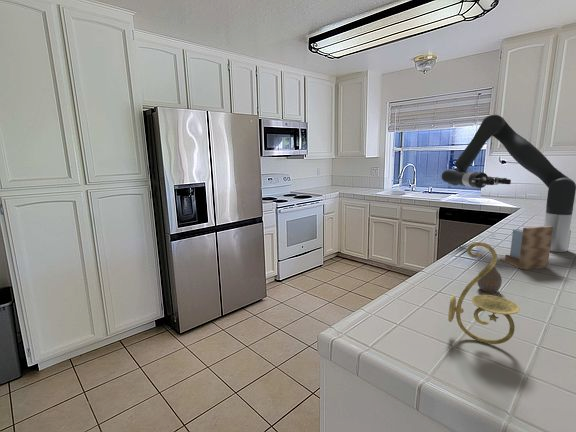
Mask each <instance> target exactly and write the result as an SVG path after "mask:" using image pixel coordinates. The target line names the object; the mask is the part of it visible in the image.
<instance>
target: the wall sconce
mask: <svg viewBox="0 0 576 432" xmlns="http://www.w3.org/2000/svg"><path fill="white" fill-rule="evenodd" d="M474 247H475V248H476V247H484V248H485V249H487V250H489V252H490V253H491V261H490V263H489V264H488V265H489V266H488V267H487V268H486V269H485V270H484V271H482V272H481V273H480V274H479V273H478V274H479V275H476V276H475V277H474V278H473V279H472V280H471V281H470V282H469V283H467V285H466V286H465V288H464V289H463V290H462V292H461V293H460V295H459V298H458V301H457V299H456V298H457V297H456V295H455V294H453V295H451V298H450V302H449V307H448V316H447V317H448V318H447V319H448V322H449V323H450V322H453V320H454V318H455V317H456V322H457V325H458V326H459V328H460V329H461V330H462V331H463V333H464V334H465V335H467V336H468V337H470V338H471V339H473V340H475V341H477V342H479V343H480V342H481V343H483V342H484V344H488V345H490V344H491V345H498V344H499V345H500V344H503V343H506V342H508V341H509V340H510V339H512V337H513V336H514V333H515V329H516V327H515V322H514V319H513V317H512V316H511V315H515V314H517V313H519V311H520V306H519V305H518V304H517V303H516V302H514V301H512V300H510V299H508V298H505V297H502V296H497V295H491V294H480V295H479V294H478V295H474V296H472V298H471V301H472V304H474V306H476V307H477V308H476V309H474V312H473V318H474V320H475V322H477V323H478V324H479V325H482V326H483V325H484V326H488V325H489V324H490V322H488V321H487V320H482V319H480V318H479V313H480V312H484V311H486V312H489V313H492V314H488V315H487V316H488V317H489V321H494V322H495V323H497V319H499V318H500V317H498V316H496V314H498V315H503V316H505V318H506V320H507V321H508V323H509V324H508V325H509V330H508V333H507V334H506V335H505V336H504V337H502V338H499V339H486V338H483V337H479V336H478V335H475V334H473V333H472V332H471V331H469V330H468V329H467V328H466V327H465V326H464V324H463V321H462V319H461V318H462V317H461V314H463V313H464V310H465V309H464V308H463V307H462V304H463V301H464V299H465V298H466V295H467V294H468V292H469V290H471V289H472V287H473V286H475V284H476V283H477V281H479V280H480V279H481V278H482V277H483V276H485V275H486V274H487V273H488V272H489V271H490V270H491V269H492V268H493V267H494V266H495V267H496V264H497V260H498V256H497V252H496V250H495V249H494V247H492V245H490V244H488V243H486V242H481V241H475V242H472V243H471V244H470V245H468V246H467V249H466V253H467V254H468V256H469V257H471V258H477V257H479V256H480V255H481V254H480V252H477V253H473V252H472V249H473V248H474Z"/></svg>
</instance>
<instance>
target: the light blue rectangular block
mask: <svg viewBox="0 0 576 432" xmlns="http://www.w3.org/2000/svg"><path fill="white" fill-rule="evenodd" d="M522 235H523V229H519V228H518V229H512V234H511V236H512V237H511V243H510V253H509V255H510V256H513V257H515V258H518V259H520V251H521V243H522Z"/></svg>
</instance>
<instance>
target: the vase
mask: <svg viewBox="0 0 576 432" xmlns="http://www.w3.org/2000/svg"><path fill="white" fill-rule="evenodd" d="M489 265H490V264H486V265H485V267H484V268H482V269H481V270H480V271H479V273H478V275H479V274H480V273H481V272H482V271H484V270H485V269H486V268H487V267H488V266H489ZM478 275H477V276H478ZM502 279H503V278H502V276H501V273H500V272H499V271H498V270H497V268H496V265H495V266H494V267H493V268H492V269H491V270H490V271H489V272H488V273H487V274H486V275H485V276H483V277H482V278H481V279H480V280H479V281H477V282H476V283H477V286H478V288H479V289H480V290H481V291H482V292H485V293H488V294H489V293H490V294H493V293H496V292H498V291H499V290H500V289H501V287H502V283H503V280H502Z"/></svg>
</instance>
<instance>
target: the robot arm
mask: <svg viewBox="0 0 576 432" xmlns="http://www.w3.org/2000/svg"><path fill="white" fill-rule="evenodd" d="M491 137H493V138H495V139H496V140H498V141H499V143H501V144H502V145H503V147H504V148H505V149H506V151H507V153H508V154H509V156H511V157H512V158H513V159H514V160H515V161H516V163H518V164H519V165H521V167H523V168H524V169H525V170H526V171H528V172H530V173H531V174H532V175H534V176H536V177H537V178H538V179H540V180H541V181H542V182H543V184H545V186H546V187H547V188H548V189H547V198H546V205H545V206H546V207H545V209H546V210H545V217H544V224H543V226H552V227H553V232H552V239H551V246H550V252H556V253H566V252H567V251H569V248H570V243H571V242H570V241H571V234H572V230H571V223H572V218H573V211H574V204H575V198H576V197H575V196H576V182H575V181H574V180H573V179H571V178H570V177H568V176H567V175H565V174H564V173H562V172H561V171H560V170H559V169H558V168H556V167H555V166H554V165H553V164H552V163H551V161H550V160H549V159H548V158H547V157H546V156H545V155H544V154H543V152H541V151H540V150H539V149H538V148H537V147H535V145H533V144H532V143H531V142H530V141H529V140H527V139H526V138H524V137H523V135H520V134H518V133H517V132H516V131H515V130H514V129H513V128H512V127H511V126H510V125H509V123H508V122H507V121H506V119H505V118H504V117H502V116H501V115H499V114H497V113H496V114H495V113H493V114H488V115H487V116H485V117H484V118H483V120H482V122H481V123H480V125H479V127H478V129H477V131H476V132H475V134H474V135H473V137H472V139H471V141H470V142H469V143H468V145H467V146H466V147H465V149H464V150H463V151H462V152H461V154H460V155H459V157H458V158H457V159H456V161H455V162H454V166H455V167H456V168H457V170H456V169H445V170H444V171H443V172H442V174H441V179H442V181H443V182H444V183H447V184H449V185H452V186H458V185H459V186H464V187H465V186H466V187H470V188H475V189H482V188H485V187H486V186H494V185H495V186H497V185H511V183H512V182H511V181H512V180H511V179H509V178H507V177H499V176H497V177H495V176H488V175H487V173H485V172H481V171H479V172H478V171H468V169H469V167H471V165H472V164H473V162H474V161H476V158H477V157H478V156H479V154H480V152H481V151H482V149H483V147H484V146H485V144H486V143H487V142H488V140H489V139H491Z"/></svg>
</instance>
